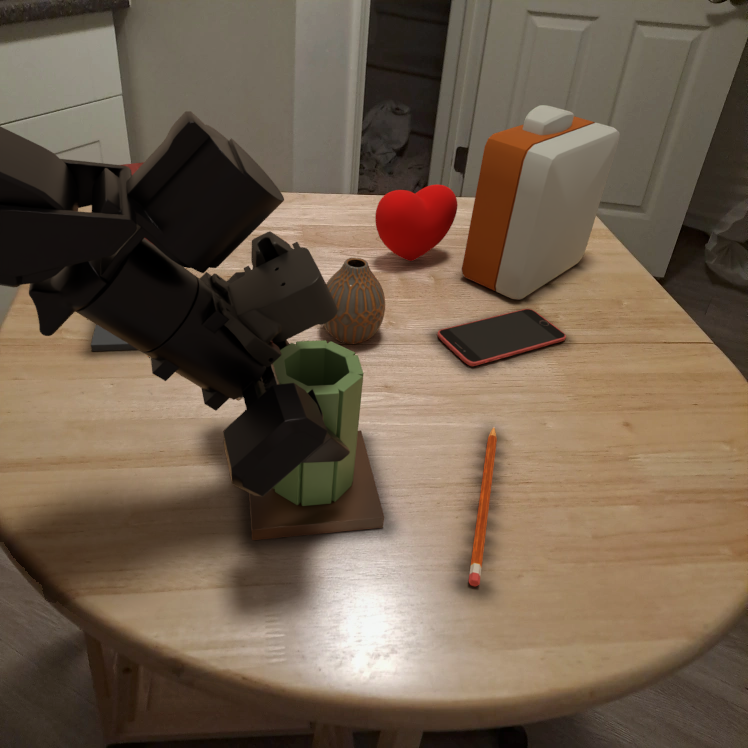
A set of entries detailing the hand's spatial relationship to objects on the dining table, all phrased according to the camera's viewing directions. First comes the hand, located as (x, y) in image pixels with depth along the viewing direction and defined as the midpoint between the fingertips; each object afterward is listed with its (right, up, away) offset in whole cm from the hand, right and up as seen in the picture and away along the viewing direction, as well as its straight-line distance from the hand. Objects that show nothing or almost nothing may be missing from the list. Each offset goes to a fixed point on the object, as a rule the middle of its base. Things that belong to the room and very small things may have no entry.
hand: (331, 422), depth 50 cm
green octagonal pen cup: (-2, -5, +3) cm, 6 cm away
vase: (+1, +8, +22) cm, 24 cm away
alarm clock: (+23, +18, +38) cm, 48 cm away
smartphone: (+18, +8, +24) cm, 31 cm away
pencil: (+12, -7, +4) cm, 15 cm away
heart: (+8, +19, +38) cm, 43 cm away
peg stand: (-2, -5, +4) cm, 7 cm away
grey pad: (-20, +10, +22) cm, 31 cm away
